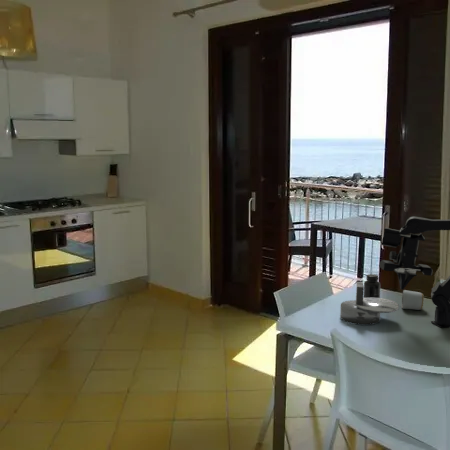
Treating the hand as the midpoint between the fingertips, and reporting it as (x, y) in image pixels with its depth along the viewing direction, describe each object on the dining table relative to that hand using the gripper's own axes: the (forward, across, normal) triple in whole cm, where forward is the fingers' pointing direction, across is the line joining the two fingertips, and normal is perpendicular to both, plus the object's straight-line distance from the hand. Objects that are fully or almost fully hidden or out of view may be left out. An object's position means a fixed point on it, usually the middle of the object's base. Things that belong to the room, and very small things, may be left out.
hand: (401, 289), depth 197 cm
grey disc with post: (+8, +8, -1) cm, 12 cm away
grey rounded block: (+12, -12, -15) cm, 23 cm away
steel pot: (+14, +13, -2) cm, 19 cm away
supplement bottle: (+14, +2, -23) cm, 27 cm away
